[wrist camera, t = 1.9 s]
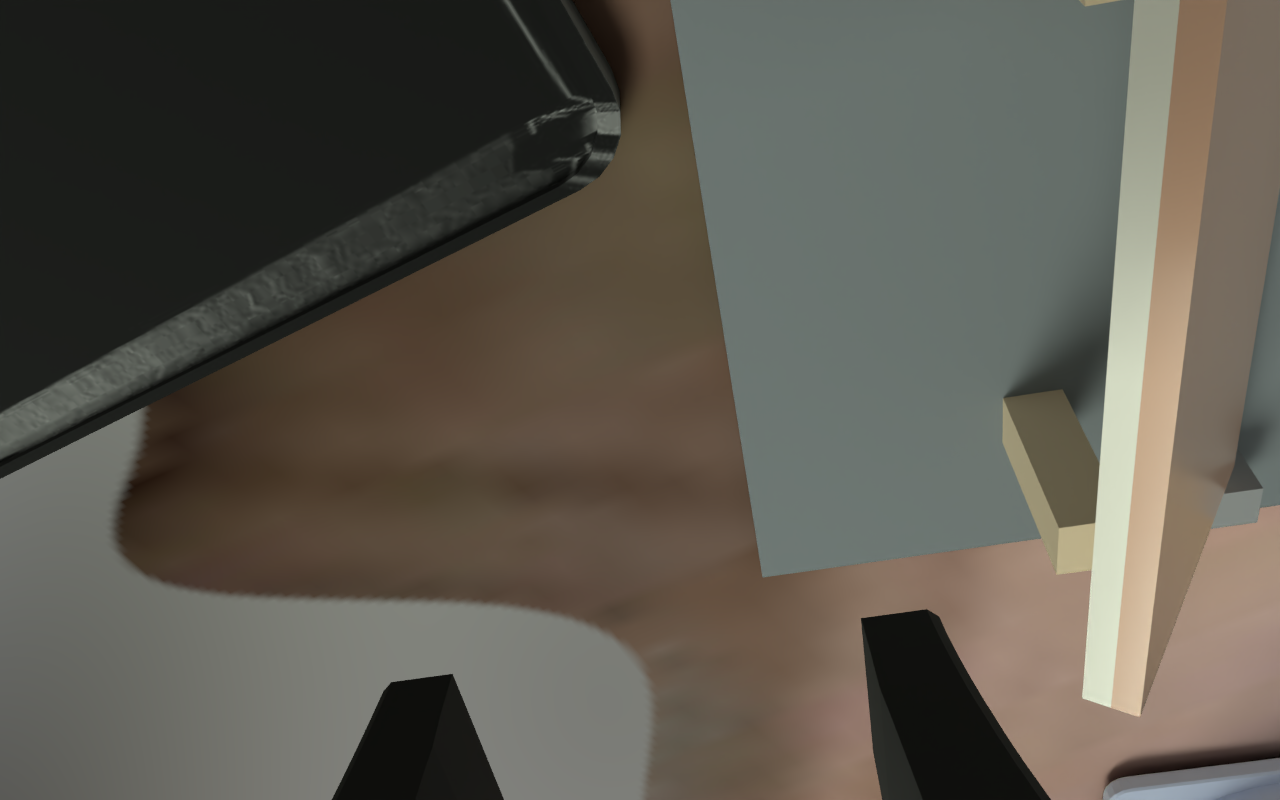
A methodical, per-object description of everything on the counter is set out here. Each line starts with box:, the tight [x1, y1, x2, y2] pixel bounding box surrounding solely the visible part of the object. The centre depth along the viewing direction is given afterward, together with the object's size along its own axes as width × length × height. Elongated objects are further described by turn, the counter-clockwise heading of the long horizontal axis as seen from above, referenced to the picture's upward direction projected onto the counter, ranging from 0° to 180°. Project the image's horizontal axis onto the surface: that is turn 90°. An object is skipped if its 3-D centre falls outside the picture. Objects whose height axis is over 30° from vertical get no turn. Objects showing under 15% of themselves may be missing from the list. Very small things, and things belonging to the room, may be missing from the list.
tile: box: [1082, 0, 1280, 717], centre depth 16 cm, size 11×6×1 cm
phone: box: [0, 0, 621, 478], centre depth 18 cm, size 8×1×15 cm
